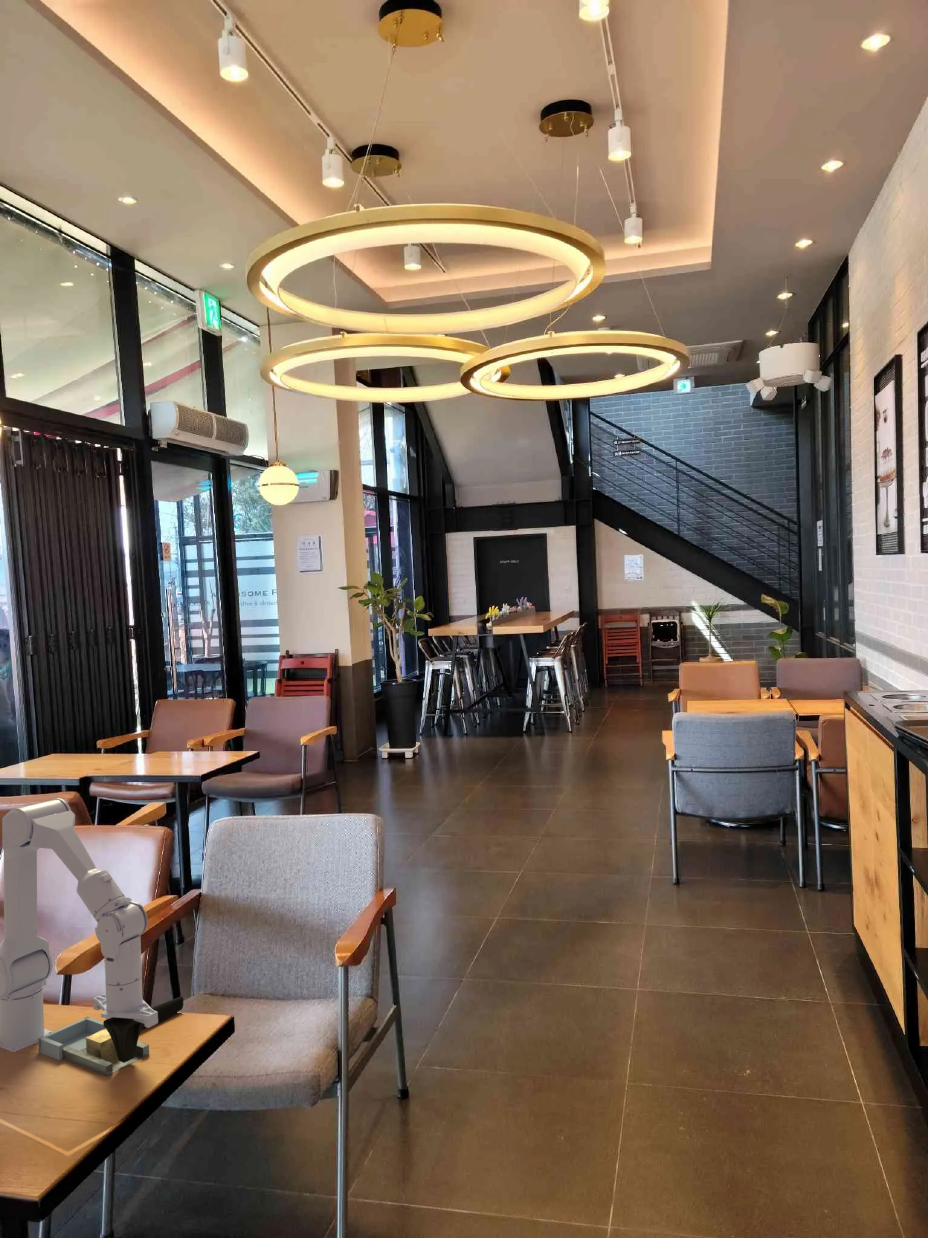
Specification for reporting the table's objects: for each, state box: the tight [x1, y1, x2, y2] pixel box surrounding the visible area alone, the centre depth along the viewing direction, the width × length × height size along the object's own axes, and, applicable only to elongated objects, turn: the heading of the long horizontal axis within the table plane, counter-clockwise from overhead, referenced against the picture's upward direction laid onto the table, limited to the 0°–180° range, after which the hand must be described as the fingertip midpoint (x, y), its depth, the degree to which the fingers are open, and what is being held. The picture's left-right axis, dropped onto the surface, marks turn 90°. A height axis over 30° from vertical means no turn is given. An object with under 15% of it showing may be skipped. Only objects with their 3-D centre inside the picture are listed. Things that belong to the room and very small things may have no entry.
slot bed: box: [62, 1040, 150, 1077], centre depth 153 cm, size 12×8×2 cm
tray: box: [37, 1016, 106, 1061], centre depth 158 cm, size 6×10×3 cm, turn 147°
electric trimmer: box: [142, 996, 184, 1029], centre depth 165 cm, size 4×16×3 cm, turn 143°
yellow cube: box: [86, 1029, 117, 1061], centre depth 153 cm, size 4×4×4 cm
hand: (126, 1059), depth 150 cm, fingers closed
